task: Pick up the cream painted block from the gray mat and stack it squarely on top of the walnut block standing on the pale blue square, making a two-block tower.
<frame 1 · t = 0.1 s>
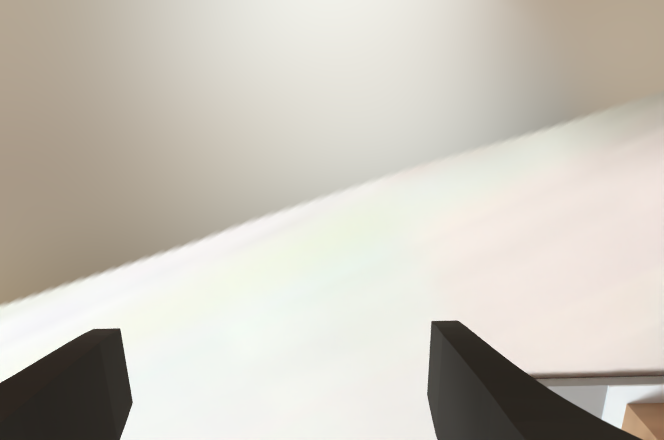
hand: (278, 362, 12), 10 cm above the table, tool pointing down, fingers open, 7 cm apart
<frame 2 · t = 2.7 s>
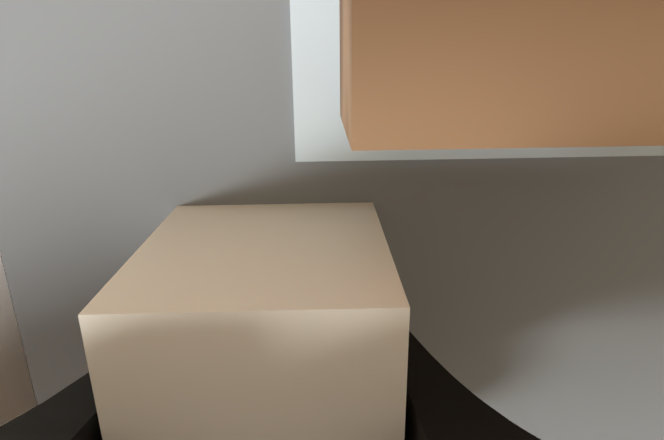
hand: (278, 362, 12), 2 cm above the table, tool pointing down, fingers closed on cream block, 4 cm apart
gray mat: (360, 154, 12), on the table
cream block: (282, 336, 13), point 1 cm above the table, touching gray mat, gripper
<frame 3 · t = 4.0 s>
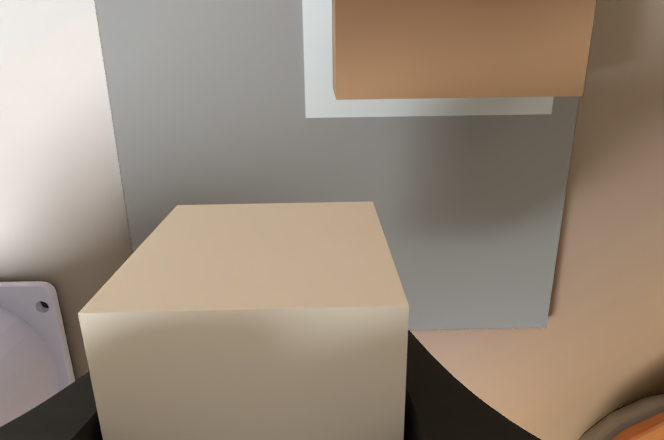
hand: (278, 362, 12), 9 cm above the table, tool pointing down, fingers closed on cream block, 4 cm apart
gray mat: (345, 114, 19), on the table
cream block: (282, 335, 13), point 8 cm above the table, touching gripper
when the fingers open (7 cm above the table, at t = 5.8 s): cream block drops 1 cm, resting on walnut block.
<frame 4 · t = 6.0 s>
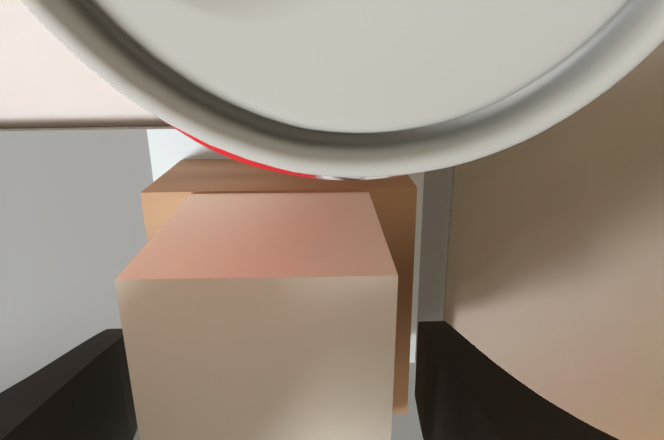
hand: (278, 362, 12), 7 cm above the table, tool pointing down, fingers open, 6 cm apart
walnut block: (292, 256, 18), point 1 cm above the table, touching gray mat, cream block
gray mat: (221, 356, 20), on the table
cream block: (284, 315, 14), point 5 cm above the table, touching walnut block
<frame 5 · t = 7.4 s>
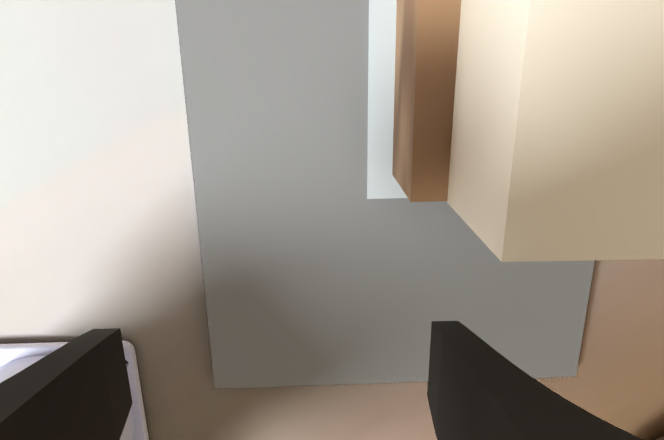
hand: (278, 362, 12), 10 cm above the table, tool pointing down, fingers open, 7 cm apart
walnut block: (485, 83, 19), point 1 cm above the table, touching gray mat, cream block
gray mat: (400, 193, 21), on the table
cream block: (526, 92, 15), point 5 cm above the table, touching walnut block
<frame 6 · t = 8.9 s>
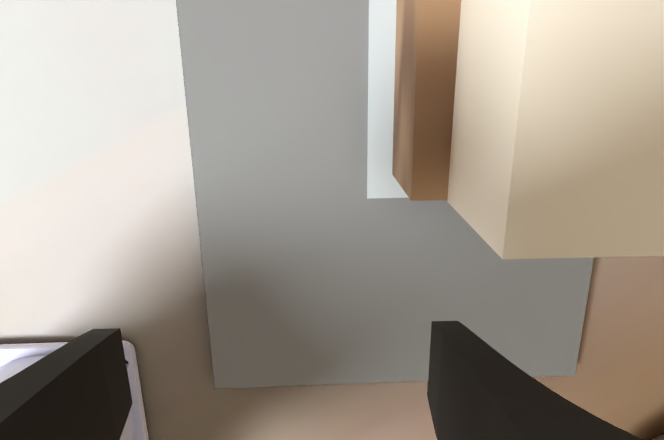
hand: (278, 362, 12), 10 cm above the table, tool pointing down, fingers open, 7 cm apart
walnut block: (484, 83, 19), point 1 cm above the table, touching gray mat, cream block
gray mat: (400, 193, 21), on the table
cream block: (526, 92, 16), point 5 cm above the table, touching walnut block
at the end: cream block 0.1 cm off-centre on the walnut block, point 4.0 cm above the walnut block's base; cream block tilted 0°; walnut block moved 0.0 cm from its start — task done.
